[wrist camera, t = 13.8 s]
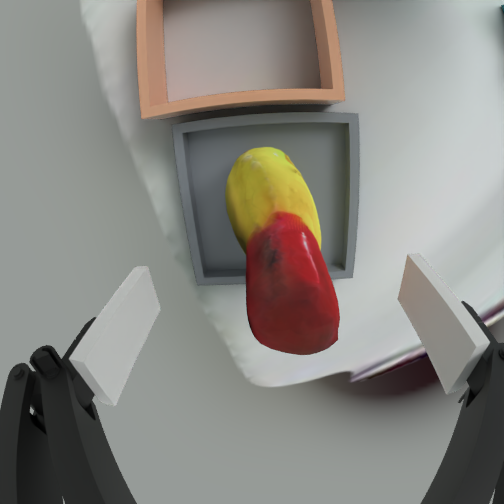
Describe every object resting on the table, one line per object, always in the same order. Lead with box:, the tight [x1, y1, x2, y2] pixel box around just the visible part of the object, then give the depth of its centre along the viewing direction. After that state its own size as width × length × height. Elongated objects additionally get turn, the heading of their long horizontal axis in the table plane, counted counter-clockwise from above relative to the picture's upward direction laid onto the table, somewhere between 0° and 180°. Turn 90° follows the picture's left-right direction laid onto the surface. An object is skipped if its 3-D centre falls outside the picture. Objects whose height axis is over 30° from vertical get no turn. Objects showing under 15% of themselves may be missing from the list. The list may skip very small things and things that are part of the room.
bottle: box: [225, 147, 340, 355], centre depth 19 cm, size 12×6×20 cm, turn 18°
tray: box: [172, 112, 360, 285], centre depth 28 cm, size 18×18×2 cm
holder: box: [136, 0, 345, 119], centre depth 19 cm, size 18×18×5 cm
